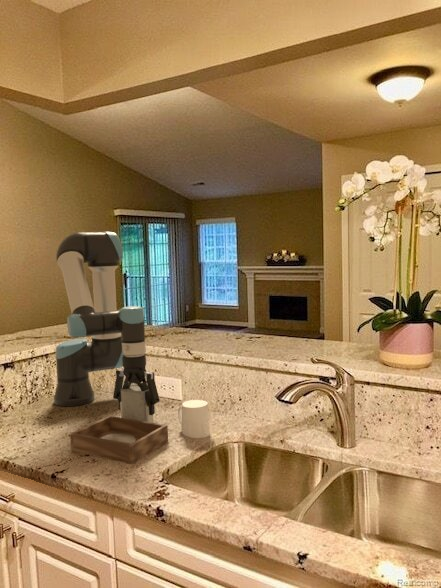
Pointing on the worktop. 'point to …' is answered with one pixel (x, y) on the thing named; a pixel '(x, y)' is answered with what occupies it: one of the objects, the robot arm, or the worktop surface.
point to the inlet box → (119, 439)
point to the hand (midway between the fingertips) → (137, 422)
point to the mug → (194, 418)
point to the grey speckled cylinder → (133, 403)
